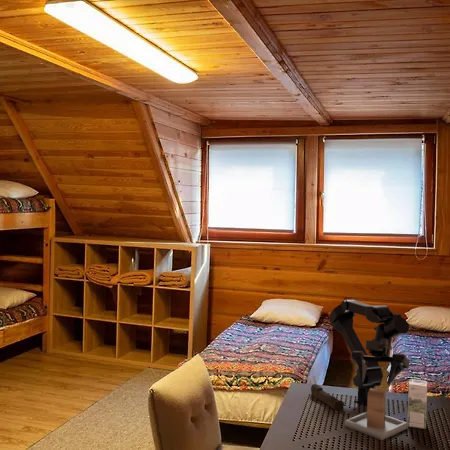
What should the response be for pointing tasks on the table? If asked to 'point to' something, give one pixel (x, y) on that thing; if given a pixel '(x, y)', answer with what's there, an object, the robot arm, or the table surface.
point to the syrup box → (417, 403)
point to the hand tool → (326, 398)
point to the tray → (388, 430)
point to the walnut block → (376, 408)
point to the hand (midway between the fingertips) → (375, 383)
